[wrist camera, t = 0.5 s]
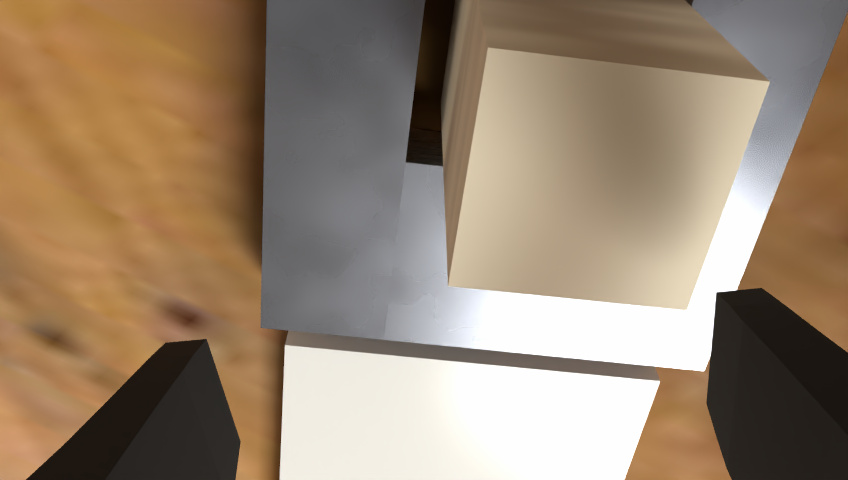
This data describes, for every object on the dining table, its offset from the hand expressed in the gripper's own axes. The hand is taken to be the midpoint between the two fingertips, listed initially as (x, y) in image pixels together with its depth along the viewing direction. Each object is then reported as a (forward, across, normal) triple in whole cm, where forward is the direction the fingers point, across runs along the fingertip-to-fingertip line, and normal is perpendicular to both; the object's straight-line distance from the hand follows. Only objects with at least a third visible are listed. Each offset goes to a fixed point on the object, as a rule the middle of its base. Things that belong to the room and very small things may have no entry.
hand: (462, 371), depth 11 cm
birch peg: (+10, -2, -2) cm, 10 cm away
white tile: (+10, +1, +13) cm, 16 cm away
